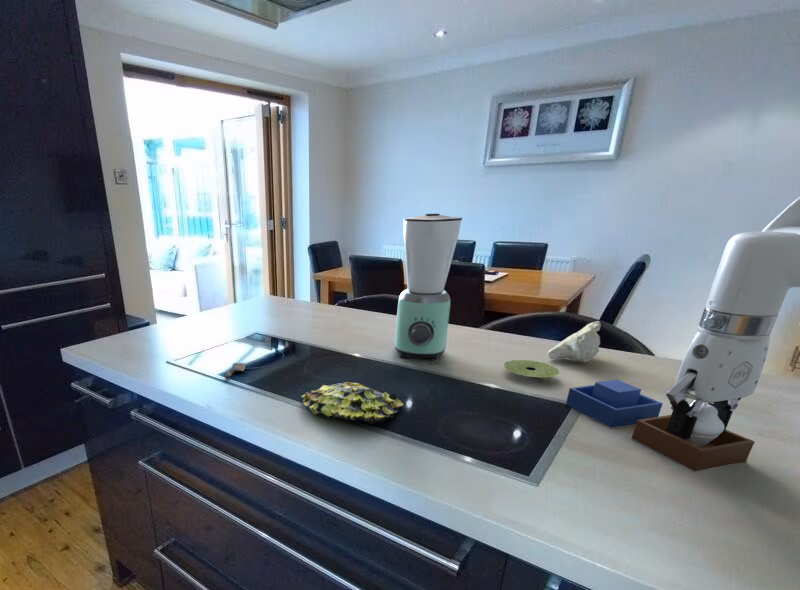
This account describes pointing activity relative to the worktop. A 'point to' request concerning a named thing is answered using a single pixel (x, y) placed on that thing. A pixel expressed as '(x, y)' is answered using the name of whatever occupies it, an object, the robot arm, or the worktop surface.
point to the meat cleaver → (235, 369)
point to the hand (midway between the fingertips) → (694, 431)
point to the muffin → (705, 426)
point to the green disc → (531, 368)
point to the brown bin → (711, 455)
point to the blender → (426, 285)
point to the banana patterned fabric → (352, 402)
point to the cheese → (578, 344)
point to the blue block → (616, 393)
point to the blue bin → (611, 408)
